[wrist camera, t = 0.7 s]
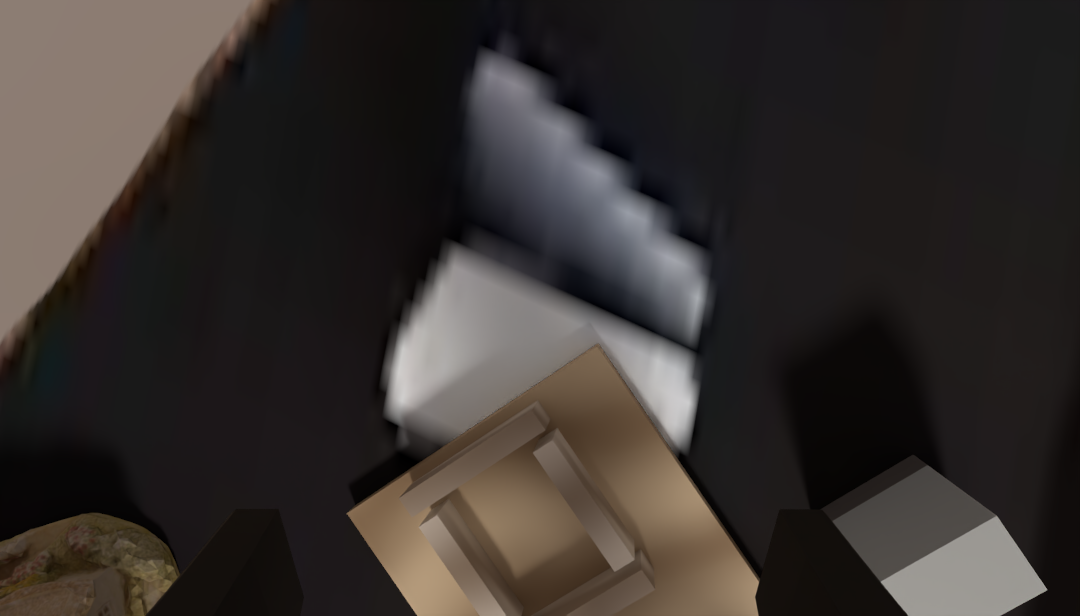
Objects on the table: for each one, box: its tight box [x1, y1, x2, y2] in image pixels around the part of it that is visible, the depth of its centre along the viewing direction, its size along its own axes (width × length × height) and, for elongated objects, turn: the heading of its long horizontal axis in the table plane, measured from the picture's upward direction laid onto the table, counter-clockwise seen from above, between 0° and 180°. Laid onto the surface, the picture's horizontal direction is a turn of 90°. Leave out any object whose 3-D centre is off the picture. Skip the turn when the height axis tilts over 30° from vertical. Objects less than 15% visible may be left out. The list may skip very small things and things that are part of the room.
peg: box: [820, 455, 1047, 616], centre depth 28 cm, size 3×5×7 cm, turn 125°
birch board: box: [347, 344, 760, 616], centre depth 31 cm, size 18×14×3 cm
